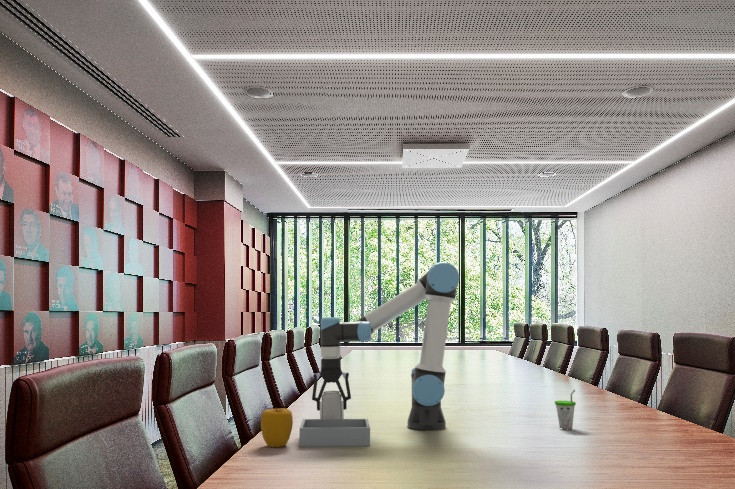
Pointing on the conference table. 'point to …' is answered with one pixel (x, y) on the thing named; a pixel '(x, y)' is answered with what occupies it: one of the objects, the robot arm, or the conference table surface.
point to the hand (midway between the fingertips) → (332, 418)
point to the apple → (276, 426)
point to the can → (331, 405)
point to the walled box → (334, 432)
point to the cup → (565, 413)
